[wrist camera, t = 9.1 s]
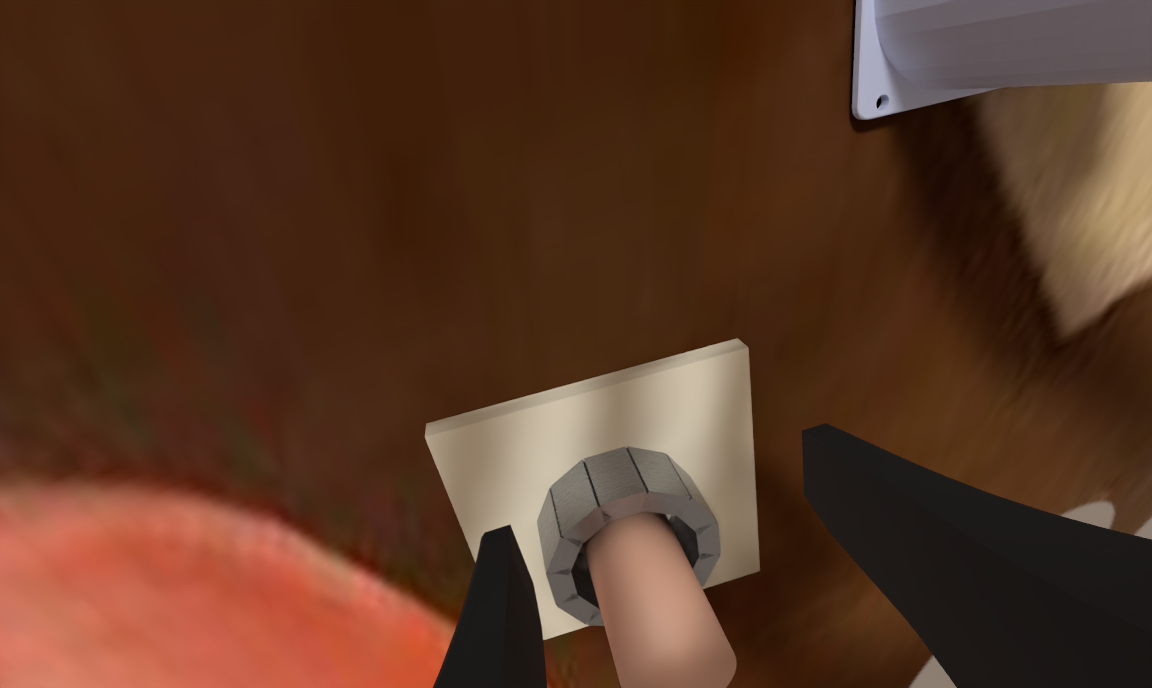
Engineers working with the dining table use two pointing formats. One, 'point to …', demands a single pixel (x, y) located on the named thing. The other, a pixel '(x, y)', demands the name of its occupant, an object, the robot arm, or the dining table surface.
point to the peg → (656, 607)
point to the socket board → (611, 471)
